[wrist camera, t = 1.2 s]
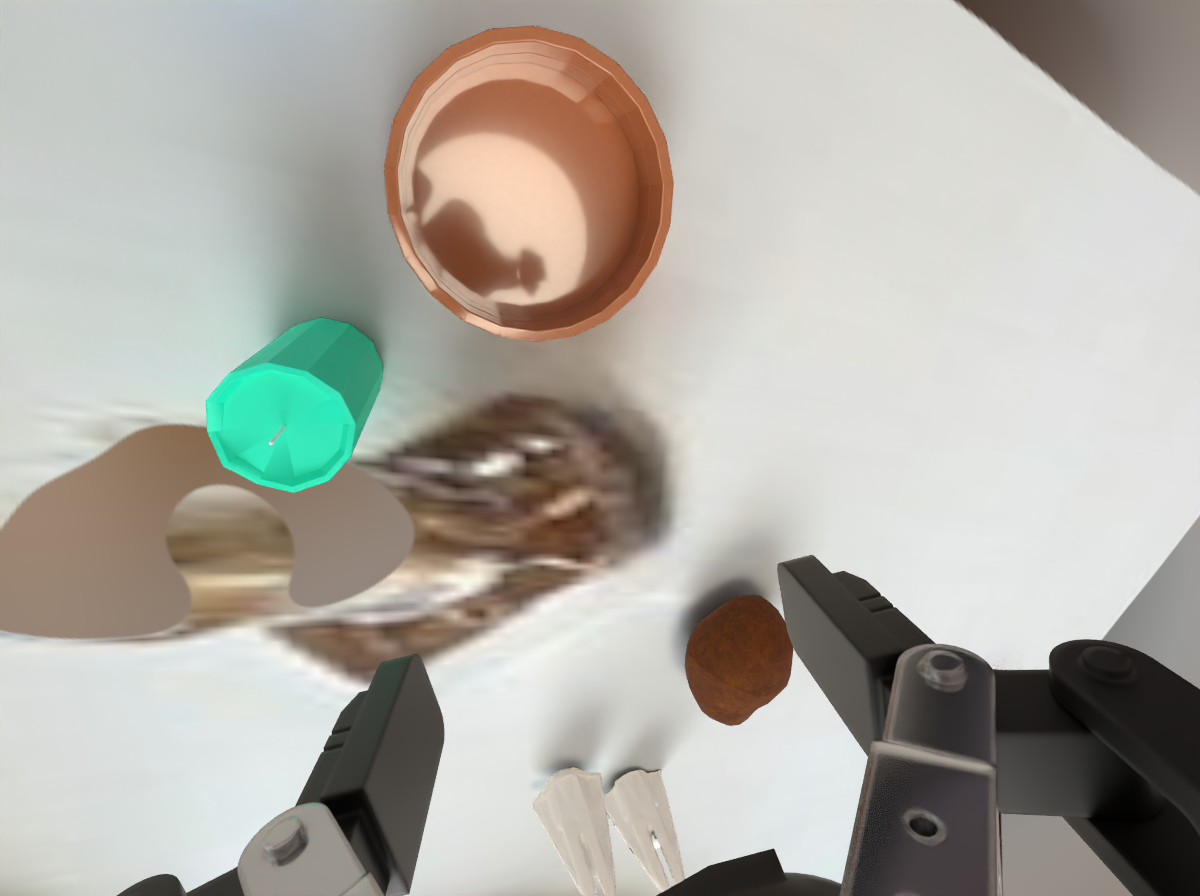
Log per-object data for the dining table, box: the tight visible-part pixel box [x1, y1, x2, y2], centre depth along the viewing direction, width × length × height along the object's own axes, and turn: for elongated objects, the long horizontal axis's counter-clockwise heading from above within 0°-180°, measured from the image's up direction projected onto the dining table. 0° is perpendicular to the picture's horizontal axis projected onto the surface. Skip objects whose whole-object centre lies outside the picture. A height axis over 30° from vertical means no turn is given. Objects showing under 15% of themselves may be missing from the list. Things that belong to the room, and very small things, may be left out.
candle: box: [206, 318, 383, 492], centre depth 29 cm, size 6×6×12 cm
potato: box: [685, 595, 793, 726], centre depth 46 cm, size 8×11×8 cm
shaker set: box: [533, 767, 685, 896], centre depth 48 cm, size 12×4×11 cm, turn 66°
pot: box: [384, 26, 673, 342], centre depth 31 cm, size 14×14×5 cm
